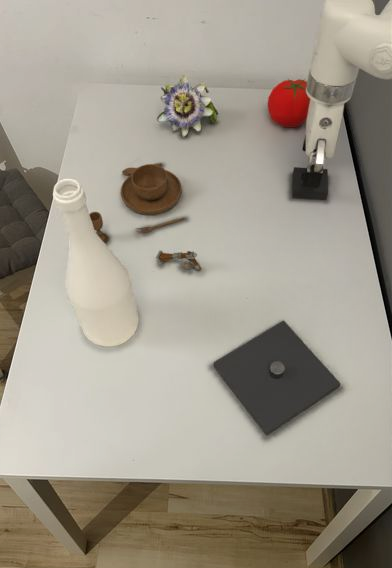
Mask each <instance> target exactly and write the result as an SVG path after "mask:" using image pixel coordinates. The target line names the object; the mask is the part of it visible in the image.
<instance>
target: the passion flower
mask: <svg viewBox="0 0 392 568" xmlns="http://www.w3.org/2000/svg"><path fill="white" fill-rule="evenodd" d="M164 86H165V88H164V87H163V86H160V89H161V91H162V92H163V95H162V96H160V100H161V101H162V102H163V104H165V107H164V108H163V111H162V112H161V113H159V115H158V116H156V117H157V118H156V121H157V122H158V123H163V122H166V121H168V122H170V124H171V130H172V133H174V132H176V131H178V130H179V131H180V132H181V136H182V137H183V138H185V137H186V136H187V135H188V134H189V129H190V128H191V127H192V128H193V129H194V130H195V131H196V132H201V129H202V118H203V117H207V118H209V120H210V121H211V123H212V124H215V123H216V121H217V115H219V111H218V110H217V109H216V107H215V106H214V103H213V101H212V99H211V97H209V96H205V95H202V93H203V92H204V90H205V93H206V94H209V93H210V90H209V88H208V87H207V86H206V83H205V82H201V83H198V84H196V85H195V86H194V87H192V86H190V83H189V81H188V77H187V76H186V75H184V74H183V75H182V76H181V77H180V79H179V82H178V83H176V84H174V86H172V85H171V84H165V85H164Z"/></svg>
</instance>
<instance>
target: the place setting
mask: <svg viewBox="0 0 392 568" xmlns="http://www.w3.org/2000/svg"><path fill="white" fill-rule="evenodd" d="M161 165H163V164H162V163H161V162H160V163H154V164H153V163H149V164H143V165H140V166H139V167H127V168H125V169H123V170H122V171H121V173H122V175H125V176H126V175H128V176H127V177H126V178H125V179H124V181H123V182H122V185H121V186H120V196H121V200H122V201H123V203H124V204H125V206H126V207H128V208H129V209H130V210H132V211H134V212H136V213H138V214H142V215H158V214H162V213H164V212H166V211H168V210H170V209H173V207H174V206H175V205H176V204H177V203H178V201H179V200H180V198H181V195H182V183H181V181H180V179H179V177H177V175H175V173H174V172H171V171H169V170H167V169H165V168H163V166H161ZM89 215H90V218H91V221H92V224H93V227H94V230H95V232H96V233H97V235H98V236H99V237H100V239H101V240H102V241H103V242H104V243H105V244H107V242H108V241H109V236H108V234H107V233H104V232H103V231H102V229H103V227H104V220H103V217H102V214H101V212H99V211H91V212H89ZM185 219H186V218H185V217H180V218H176V219H173V220H170V221H169V220H168V221H166V222H163V223H159V224H156V225H153V226H145V227H137V228H135V230H136V232H137V233H138V234H145V233H150V232H152V231H153V230H154V229H156V228H160V227H163V226H166V225H167V226H168V225H170V224H171V225H172V224H173V223H177V222H180V221H183V220H185Z"/></svg>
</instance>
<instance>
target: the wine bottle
mask: <svg viewBox="0 0 392 568" xmlns="http://www.w3.org/2000/svg"><path fill="white" fill-rule="evenodd" d="M52 197H53V200H54V202H55V206H56V208H57V209H58V210H60V214H61V217H62V220H63V223H64V226H65V229H66V232H67V236H68V239H69V240H68V242H69V243H68V244H69V245H68V246H69V247H68V255H67V263H66V264H67V265H66V271H65V291H66V294H67V297H68V300H69V302H70V304H71V307H72V309H73V312H74V313H75V316H76V319H77V320H78V323H79V325H80V328H81V330H82V332H83V334H84V336H85V337H86V338H87V339H88V340H89V341H90V342H92V343H93V344H95V345H97V346H100V347H108V348H111V347H117V346H120V345H123V344H124V343H126V342H128V341H129V340H130V339H131V338H132V337H133V336H134V334H135V333H136V332H137V329H138V327H139V321H140V317H139V312H138V307H137V303H136V299H135V295H134V290H133V286H132V281H131V277H130V274H129V271H128V269H127V268H126V266H125V265H124V264H123V263H122V261H121V259H119V257H118V256H116V254H115V253H114V252H113V250H111V249H110V248H109V246H108V245H107V243H104V242H103V241H102V240H101V239H100V237H99V236H98V235H97V233H96V232H97V231H96V230H94V227H93V224H92V221H91V218H90V215H89V214H90V212H89V208H88V206H87V204H86V202H87V196H86V192H85V189H84V186H83V185H82V184H81V183H80V182H79V181H78V180H76V179H74V178H63V179H61V180H59V181H57V182H56V183H55V184H54V186H53V191H52Z"/></svg>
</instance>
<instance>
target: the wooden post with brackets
mask: <svg viewBox="0 0 392 568" xmlns="http://www.w3.org/2000/svg"><path fill="white" fill-rule="evenodd" d="M197 256H198V253H196V252H195V251H191V250H187V252H182V251H180V252H173V253H167V252H164V251H163V250H161V249H159V251H158V253H157V254H156V256H155V258H156V260H157V262H158V263H159V265H162V264H163V263H164V262H167V261H170V260H173V261H182V260H187V261H188V262H186V261H184V263H182V264H181V267H182V268H184V270H187V269H188V270H191V269H192V268H195V269H196V271H197V272H201V270H202V267H201V264H200V262H198V261H197V259H196V257H197Z"/></svg>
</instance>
